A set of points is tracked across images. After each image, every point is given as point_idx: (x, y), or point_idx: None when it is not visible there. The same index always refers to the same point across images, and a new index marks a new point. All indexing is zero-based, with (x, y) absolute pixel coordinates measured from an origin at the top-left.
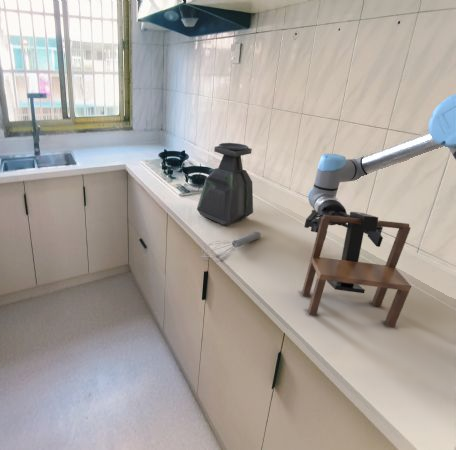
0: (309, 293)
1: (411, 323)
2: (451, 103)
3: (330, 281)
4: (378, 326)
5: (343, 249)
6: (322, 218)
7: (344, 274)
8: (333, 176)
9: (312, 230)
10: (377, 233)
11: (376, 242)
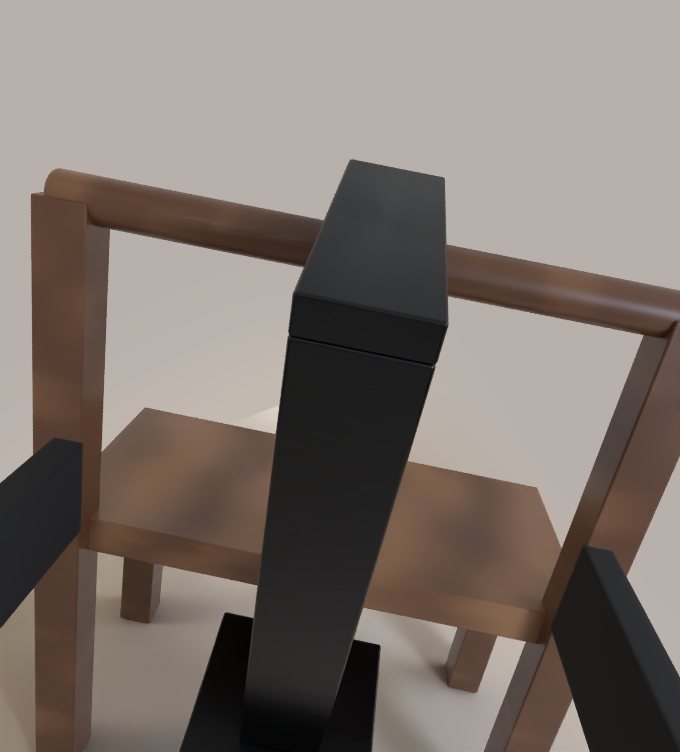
0: None
1: (16, 615)
2: None
3: (371, 744)
4: (198, 605)
5: (359, 617)
6: None
7: (423, 478)
8: None
9: None
10: (11, 493)
11: (65, 522)
